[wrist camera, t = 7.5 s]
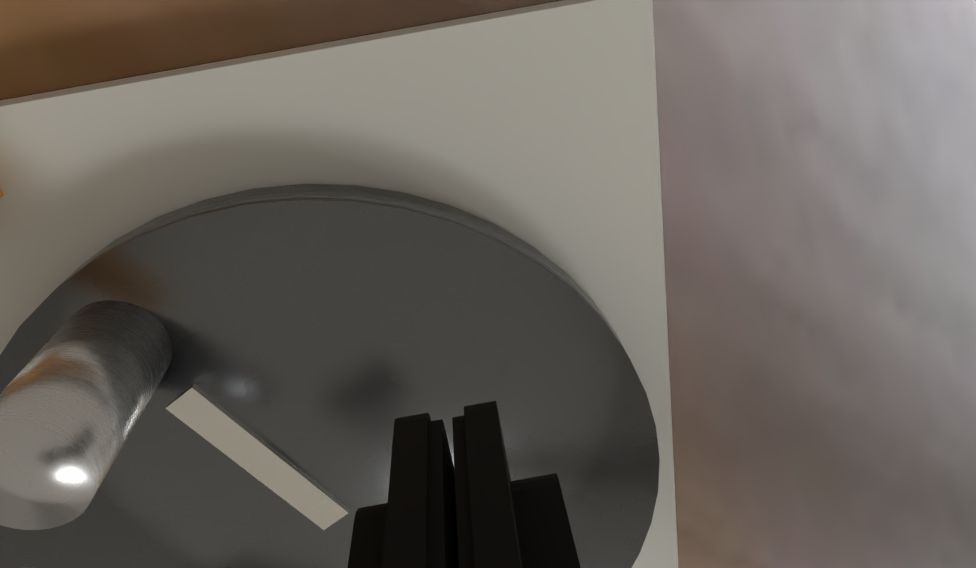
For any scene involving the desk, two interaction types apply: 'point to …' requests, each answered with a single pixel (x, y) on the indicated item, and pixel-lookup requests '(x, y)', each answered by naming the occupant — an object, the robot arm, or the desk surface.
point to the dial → (303, 383)
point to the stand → (380, 158)
